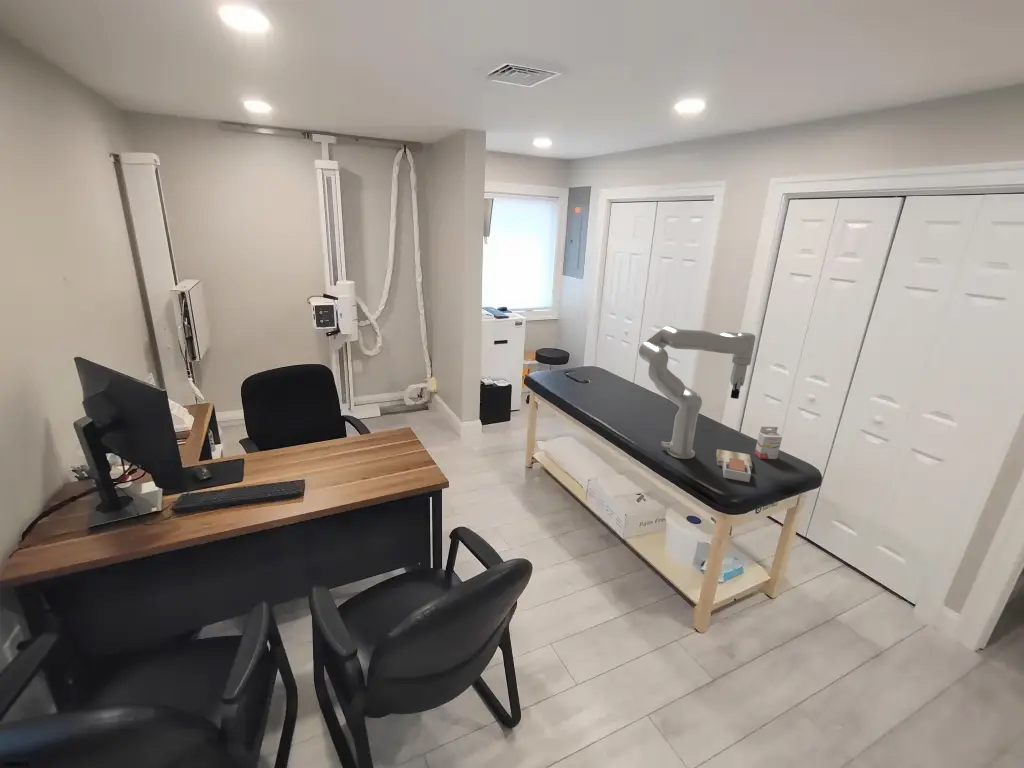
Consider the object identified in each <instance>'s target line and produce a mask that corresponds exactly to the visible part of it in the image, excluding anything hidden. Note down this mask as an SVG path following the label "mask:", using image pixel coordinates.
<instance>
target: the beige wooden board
mask: <svg viewBox="0 0 1024 768" xmlns="http://www.w3.org/2000/svg"><path fill="white" fill-rule="evenodd" d="M715 456H716V464H717V466H718V467H719V466H720V467H722V466H723V461H724V460H725V463H728V464H729V458H733V459H739V460H744V462H745V466H746V467H747V464H749V468H750V472H752V470H753V463H752V459H751V455H750V454H748V453H744V452H738V451H737V452H736V451H731V450H725V449H719V448H718V449H717V448H716V452H715Z"/></svg>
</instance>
